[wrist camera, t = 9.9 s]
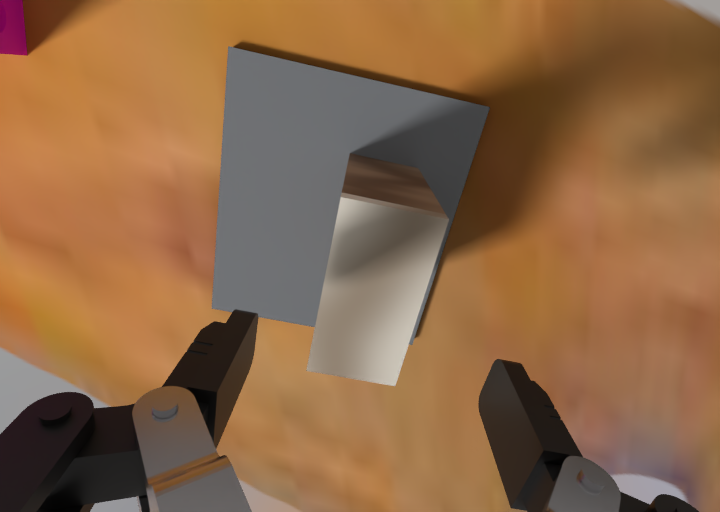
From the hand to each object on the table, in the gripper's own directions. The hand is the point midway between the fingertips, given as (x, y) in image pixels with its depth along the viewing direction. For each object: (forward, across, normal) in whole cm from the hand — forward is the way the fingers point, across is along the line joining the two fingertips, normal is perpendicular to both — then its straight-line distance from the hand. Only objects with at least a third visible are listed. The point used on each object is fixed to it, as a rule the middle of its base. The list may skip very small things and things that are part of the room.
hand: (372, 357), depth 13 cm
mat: (+13, +2, 0) cm, 13 cm away
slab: (+12, 0, 0) cm, 12 cm away
